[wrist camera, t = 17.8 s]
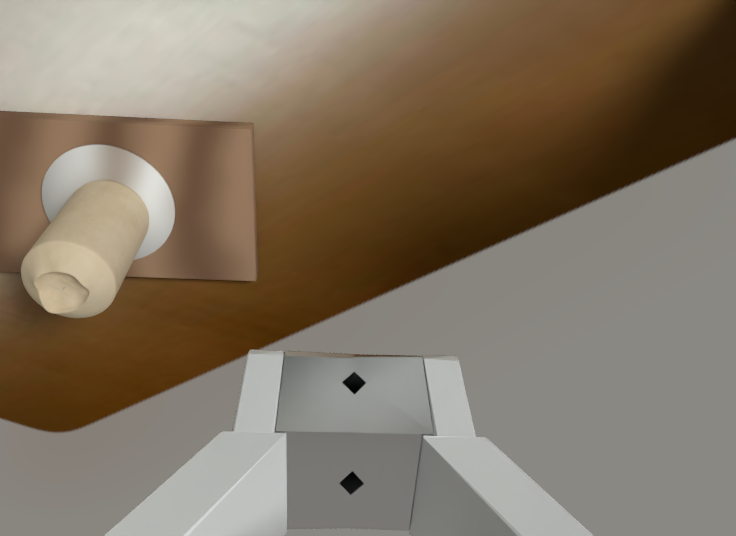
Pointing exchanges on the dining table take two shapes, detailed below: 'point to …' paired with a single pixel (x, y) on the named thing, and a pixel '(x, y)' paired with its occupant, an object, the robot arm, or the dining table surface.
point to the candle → (86, 250)
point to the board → (136, 187)
